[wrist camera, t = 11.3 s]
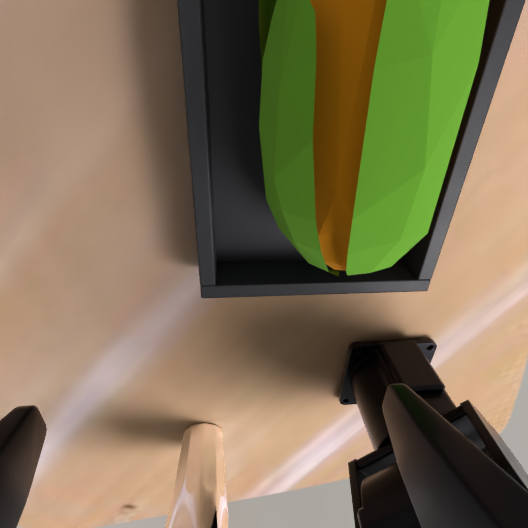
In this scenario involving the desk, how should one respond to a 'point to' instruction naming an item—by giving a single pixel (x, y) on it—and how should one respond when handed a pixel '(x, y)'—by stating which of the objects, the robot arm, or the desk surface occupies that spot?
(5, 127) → the desk surface
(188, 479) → the milkshake
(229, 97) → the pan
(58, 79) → the desk surface
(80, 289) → the desk surface
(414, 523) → the robot arm
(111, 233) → the desk surface
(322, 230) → the corn
